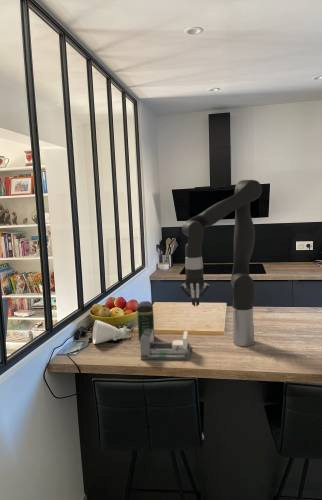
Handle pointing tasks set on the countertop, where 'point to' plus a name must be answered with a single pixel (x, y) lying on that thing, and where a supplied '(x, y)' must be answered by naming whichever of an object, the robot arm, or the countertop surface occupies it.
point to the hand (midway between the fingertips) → (195, 305)
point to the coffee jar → (145, 317)
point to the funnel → (107, 332)
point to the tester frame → (160, 349)
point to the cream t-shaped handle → (181, 342)
